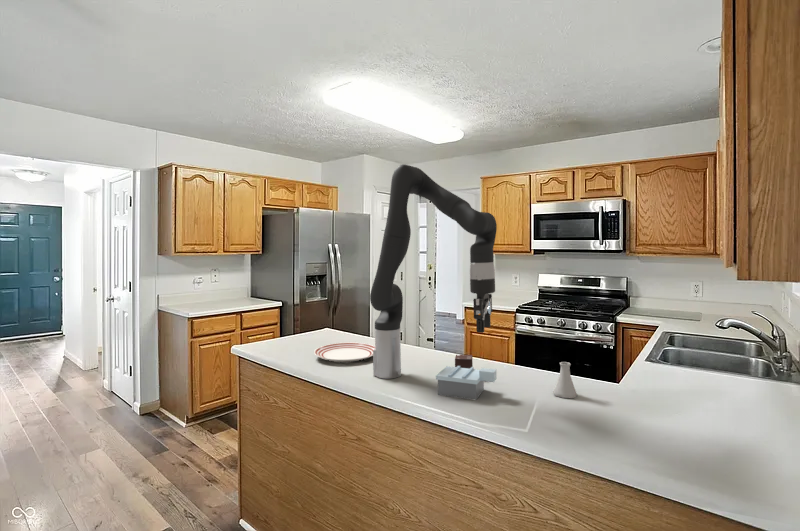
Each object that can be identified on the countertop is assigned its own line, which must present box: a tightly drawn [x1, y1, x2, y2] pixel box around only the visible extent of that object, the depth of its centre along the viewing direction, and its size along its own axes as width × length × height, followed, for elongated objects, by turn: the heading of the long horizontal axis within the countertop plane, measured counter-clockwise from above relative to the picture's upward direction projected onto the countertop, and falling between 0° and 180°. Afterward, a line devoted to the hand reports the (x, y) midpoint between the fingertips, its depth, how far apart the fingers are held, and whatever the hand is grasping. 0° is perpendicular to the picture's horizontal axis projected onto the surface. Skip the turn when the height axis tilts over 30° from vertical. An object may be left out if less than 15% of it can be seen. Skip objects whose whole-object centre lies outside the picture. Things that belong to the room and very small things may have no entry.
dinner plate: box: [313, 341, 375, 363], centre depth 184 cm, size 27×27×3 cm
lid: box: [435, 365, 497, 384], centre depth 135 cm, size 17×11×3 cm, turn 66°
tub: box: [437, 380, 485, 401], centre depth 136 cm, size 12×10×6 cm
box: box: [454, 354, 473, 369], centre depth 153 cm, size 6×6×7 cm
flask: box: [552, 361, 578, 399], centre depth 134 cm, size 7×7×10 cm
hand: (483, 329), depth 133 cm, fingers open, 8 cm apart
